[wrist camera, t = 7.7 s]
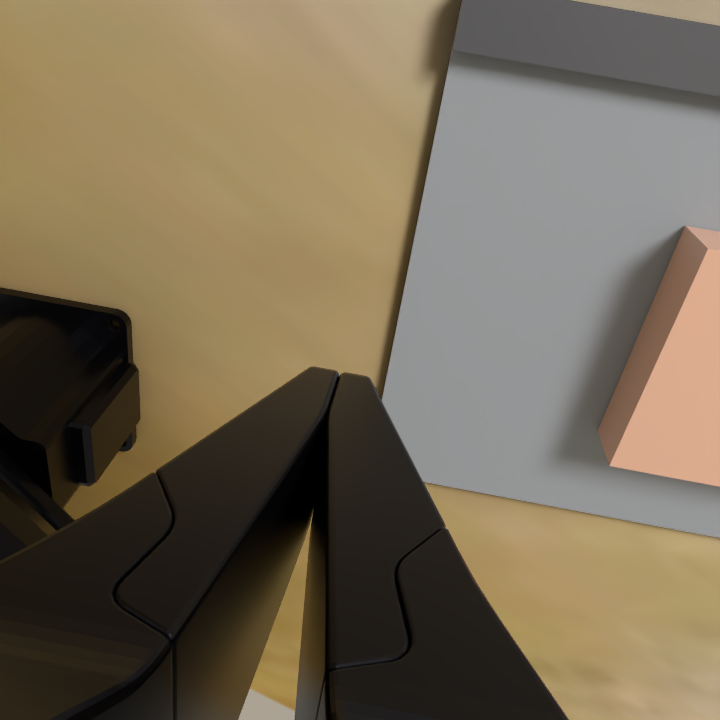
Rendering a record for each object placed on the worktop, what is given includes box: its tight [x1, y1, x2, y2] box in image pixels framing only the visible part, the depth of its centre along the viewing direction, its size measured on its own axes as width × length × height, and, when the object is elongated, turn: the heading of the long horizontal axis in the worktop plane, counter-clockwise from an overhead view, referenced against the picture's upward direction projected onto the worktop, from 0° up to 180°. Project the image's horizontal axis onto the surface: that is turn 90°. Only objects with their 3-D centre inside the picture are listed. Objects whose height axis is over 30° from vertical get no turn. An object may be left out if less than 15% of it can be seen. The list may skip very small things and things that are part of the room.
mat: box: [382, 50, 720, 538], centre depth 22 cm, size 18×16×1 cm
